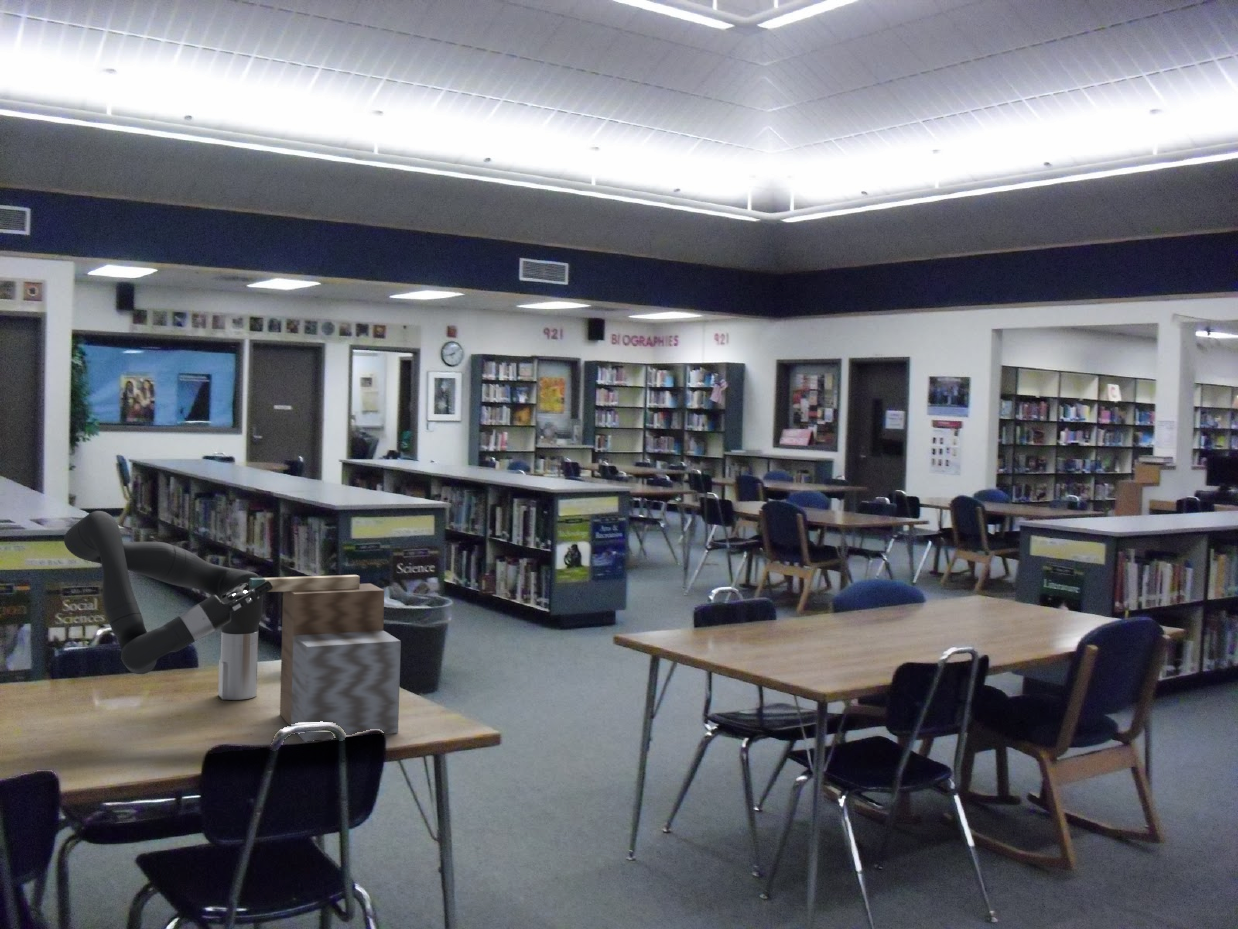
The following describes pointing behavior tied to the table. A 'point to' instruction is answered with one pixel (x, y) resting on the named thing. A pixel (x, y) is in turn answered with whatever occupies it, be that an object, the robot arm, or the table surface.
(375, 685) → the pedestal
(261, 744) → the table surface
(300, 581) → the beech bar
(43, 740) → the table surface
